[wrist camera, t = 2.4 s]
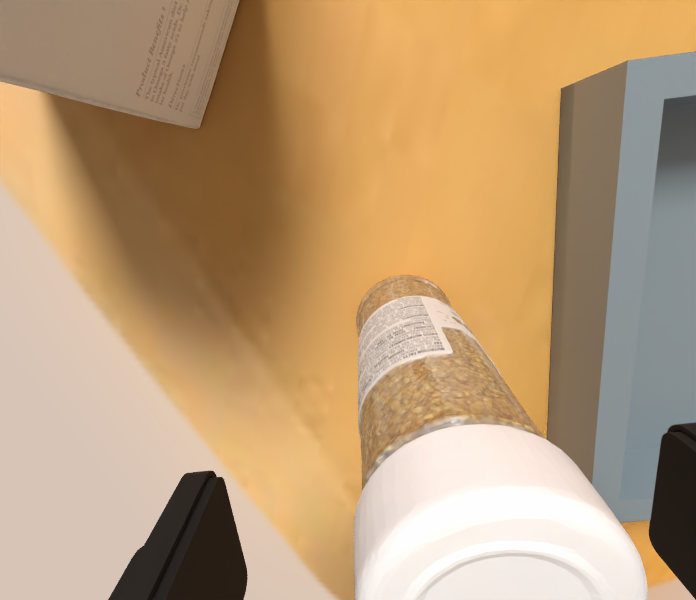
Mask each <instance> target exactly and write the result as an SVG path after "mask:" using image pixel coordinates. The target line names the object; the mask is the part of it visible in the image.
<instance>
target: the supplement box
mask: <svg viewBox="0 0 696 600" xmlns="http://www.w3.org/2000/svg"><path fill="white" fill-rule="evenodd" d="M239 1H240V0H0V82H5V83H9V84H13V85H17V86H21V87H25V88H29V89H34V90H38V91H42V92H46V93H50V94H54V95H57V96H61V97H65V98H69V99H72V100H76V101H80V102H84V103H87V104H91V105H95V106H99V107H104V108H108V109H111V110H115V111H119V112H123V113H127V114H131V115H135V116H140V117H144V118H148V119H151V120H156V121H161V122H166V123H171V124H175V125H179V126H183V127H188V128H194V129H199V127H200V125H201V122H202V118H203V115H204V112H205V109H206V106H207V103H208V100H209V97H210V94H211V91H212V88H213V85H214V81H215V78H216V75H217V72H218V68H219V65H220V62H221V59H222V56H223V52H224V49H225V46H226V43H227V39H228V36H229V33H230V30H231V26H232V23H233V20H234V17H235V14H236V10H237V7H238V4H239Z"/></svg>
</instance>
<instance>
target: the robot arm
mask: <svg viewBox="0 0 696 600" xmlns="http://www.w3.org/2000/svg"><path fill="white" fill-rule="evenodd" d="M649 537H650V541H651V543H652V545H653V547H654V549H655V551H656V552H657V553H658V555H659V556H660V557H661V558H662V560H663V561H664V562H665V563H666V564H667V566H668V567H669V568H670V569H671V570H672V572H673V573H674V574H675V575H676V576H677V578H678V579H679V580H680V581H681V582H682V584H683V585H684V586H685V587H686V588H687V590H688V591H689V592H690V593H691V594H692V596H693V597H694V598H695V599H696V422H695V423H685V424H675V425H672V426H670V427H669V428H668V431H667V433H665V434H664V435H663V436H662V439H661V445H660V453H659V460H658V467H657V475H656V482H655V490H654V497H653V504H652V512H651V519H650V527H649ZM246 586H247V568H246V564H245V560H244V556H243V552H242V548H241V544H240V540H239V536H238V533H237V529H236V524H235V521H234V517H233V513H232V509H231V505H230V501H229V497H228V493H227V489H226V485H225V482H224V479H223V478H222V477H216V474H215V473H214V471H203V472H193V473H186V474H185V475H184V476H183V477H182V478H181V480H180V482H179V484H178V486H177V487H176V489H175V491H174V493H173V495H172V497H171V499H170V500H169V502H168V504H167V505H166V507H165V509H164V511H163V513H162V514H161V516H160V518H159V520H158V522H157V523H156V525H155V527H154V529H153V530H152V532H151V534H150V536H149V538H148V539H147V541H146V543H145V545H144V546H143V547H141V548H140V549H139V550H138V551H137V552H136V553H135V555H134V556H133V558H132V559H131V561H130V563H129V564H128V566H127V568H126V570H125V571H124V573H123V575H122V577H121V579H120V580H119V582H118V584H117V585H116V587H115V589H114V591H113V592H112V594H111V596H110V598H109V599H108V600H243V599H244V595H245V591H246Z"/></svg>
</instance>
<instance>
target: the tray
mask: <svg viewBox="0 0 696 600" xmlns="http://www.w3.org/2000/svg"><path fill="white" fill-rule="evenodd" d="M695 422H696V52H689V53H681V54H674V55H666V56H659V57H651V58H644V59H636V60H629V61H626V62H623V63H621V64H619V65H616V66H614V67H611V68H609V69H607V70H604V71H602V72H600V73H597V74H595V75H592V76H590V77H588V78H585V79H583V80H580V81H578V82H576V83H573V84H571V85H569V86H566V87H564V88H561V110H560V134H559V159H558V183H557V208H556V233H555V257H554V282H553V306H552V331H551V355H550V380H549V405H548V429H547V440H548V441H549V442H551V443H552V444H554V445H555V446H557V447H558V448H560V449H561V450H562V451H563V452H564V453H565V454H566V455H567V456H568V457H569V458H571V460H572V461H573V462H574V463H575V464H576V465H577V466H578V468H579V469H580V470H581V471H582V473H583V474H584V475H585V477H586V478H587V479H588V481H589V482H590V483H591V484H592V486H593V487H594V488H595V490H596V491H597V492H598V494H599V495H600V496H601V497H602V499H603V500H604V501H605V503H606V504H607V505H608V507H609V508H610V510H611V511H612V512H613V514H614V515H615V517H616V518H617V519H618V521H619V522H633V521H646V520H650V519H651V512H652V504H653V497H654V490H655V482H656V475H657V467H658V460H659V453H660V445H661V439H662V436H663V435H664V434H665V433H667V431H668V428H669V427H670V426H672V425H675V424H685V423H695Z"/></svg>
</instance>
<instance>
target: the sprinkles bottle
mask: <svg viewBox="0 0 696 600" xmlns="http://www.w3.org/2000/svg"><path fill="white" fill-rule="evenodd" d="M356 323H357V330H358V334H359V341H358V427H359V434H360V438H361V456H362V493H361V495H360V498H359V501H358V504H357V507H356V512H355V518H354V583H355V600H647V579H646V573H645V570H644V567H643V564H642V560H641V557H640V555H639V553H638V551H637V549H636V547H635V545H634V543H633V542H632V540H631V538H630V536H629V535H628V533H627V532H626V531H625V529H624V528H623V526H622V525H621V524H620V522H619V521H618V519H617V518H616V517H615V515H614V514H613V512H612V511H611V510H610V508H609V507H608V505H607V504H606V503H605V501H604V500H603V499H602V497H601V496H600V495H599V494H598V492H597V491H596V490H595V488H594V487H593V486H592V484H591V483H590V482H589V481H588V479H587V478H586V477H585V475H584V474H583V473H582V471H581V470H580V469H579V468H578V466H577V465H576V464H575V463H574V462H573V461H572V460H571V458H569V457H568V456H567V455H566V454H565V453H564V452H563V451H562V450H561V449H560V448H558V447H557V446H555V445H554V444H552V443H551V442H549V441H548V440H546V439H545V438H544V436H543V435H542V433H541V432H540V431H539V430H538V428H537V427H536V426H535V424H534V423H533V422H532V420H531V419H530V417H529V416H528V415H527V414H526V412H525V410H524V409H523V407H522V406H521V405H520V403H519V402H518V400H517V398H516V397H515V395H514V394H513V393H512V391H511V390H510V389H509V387H508V386H507V384H506V383H505V381H504V379H503V378H502V376H501V374H500V372H499V370H498V369H497V367H496V366H495V364H494V363H493V361H492V360H491V358H490V357H489V356H488V354H487V353H486V352H485V350H484V349H483V348H482V346H481V345H480V343H479V342H478V340H477V339H476V338H475V337H474V335H473V334H472V332H471V331H470V329H469V328H468V327H467V325H466V324H465V322H464V321H463V320H462V319H461V317H460V316H459V315H458V313H457V312H456V311H455V310H453V309H452V307H451V305H450V302H449V300H448V298H447V297H446V295H445V294H444V293H443V291H442V290H441V289H440V288H439V287H438V286H437V285H435V284H434V283H433V282H431V281H429V280H427V279H424V278H422V277H419V276H412V275H399V276H391V277H389V278H387V279H385V280H383V281H381V282H379V283H377V284H376V285H375V286H373V287H372V288H371V289H370V290H369V291H368V292H367V293H366V295H365V296H364V297H363V299H362V301H361V304H360V306H359V309H358V312H357V320H356Z"/></svg>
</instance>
